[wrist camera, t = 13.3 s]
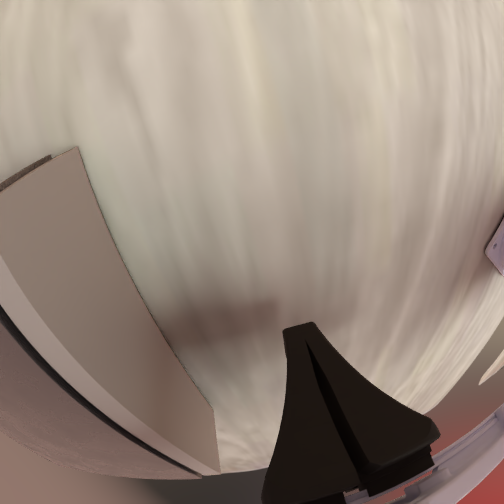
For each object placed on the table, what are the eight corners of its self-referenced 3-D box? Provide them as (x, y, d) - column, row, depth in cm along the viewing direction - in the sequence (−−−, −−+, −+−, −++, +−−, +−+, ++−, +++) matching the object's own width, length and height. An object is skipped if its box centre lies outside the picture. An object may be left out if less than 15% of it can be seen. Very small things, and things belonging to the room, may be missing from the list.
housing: (66, 413, 18) (58, 465, 13) (-72, 242, 7) (-117, 298, 2) (196, 410, 19) (202, 478, 14) (50, 154, 8) (-55, 227, 3)
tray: (90, 416, 18) (84, 468, 14) (-58, 232, 7) (-108, 291, 3) (213, 409, 19) (221, 474, 14) (78, 145, 8) (-21, 210, 3)
